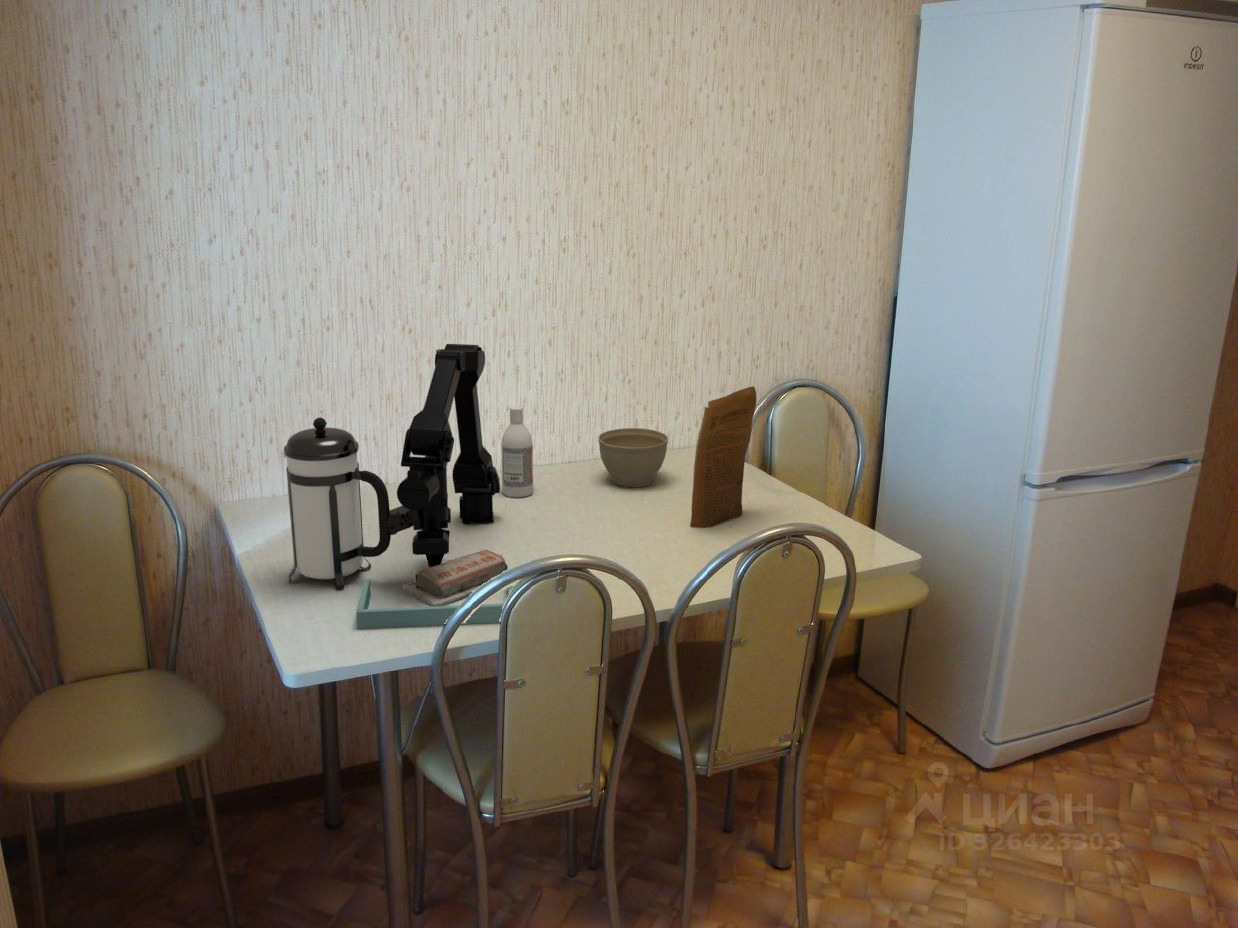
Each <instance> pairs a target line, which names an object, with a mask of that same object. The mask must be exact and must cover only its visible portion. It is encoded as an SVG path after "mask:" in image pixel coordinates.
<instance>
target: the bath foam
mask: <svg viewBox="0 0 1238 928" xmlns="http://www.w3.org/2000/svg"><path fill="white" fill-rule="evenodd" d="M500 444H501V445H500V447H501V489H502V490H501V491H502V494H503V495H504V496H506V497H508V498H519V499H520V498H525V497H529V496H530V495H532V494H533V492H534V456H533V455H534V453H533V451H534V450H533V449H534V448H533V447H534V446H533V445H534V444H533V438H532V435H531V433H530V431H529V429H528V427H526V425H525V423H524V407H523V406H520V405H513V406H511V407H509V424H508V426H507V428H505V431H504V432H503V434H502V437H501V443H500Z"/></svg>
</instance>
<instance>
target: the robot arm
mask: <svg viewBox="0 0 1238 928" xmlns="http://www.w3.org/2000/svg"><path fill="white" fill-rule="evenodd" d="M444 346H445V347H444V348H441V349H439V348H438V349H436V350H435V356H434V370H433V374H432V377H431V381H430V384H429V388H428V390H427V391H428V392H427V395H426V397H425V402H424V405H423V409H422V410H420V411H419V412H417V413H416V414H415V415H414V416H413V417H412V420H411V423H410V426H409V428H408V429H407V430H406V431H405V437H404V442H403V449H402V455H401V460H400V461H401V462H400V467H402V468H403V467H404V468H406V467H407V468H409V469H408V470H407V472H406V475H407V476H406V477H405V478H404V479H403V480H401V482H400V483H399V485H398V486H397V490H396V497H397V500H398V502H399V504H400V506H397V507H395V508H392V509H390V514H389V518H388V519H386V520H384V522H385V529H386V530H388V531H389V534H390V535H391V536H394V535H397V534H398V533H399V532H402V531H404V530H405V531H406V530H407V529H410V528H412V527H413V531H416V534H415V535H414V536H413V538H412V548H411V549H412V554H413V555H415V556H422V555H423V556H424V555H425V557H426V562H427V565H428V568H430V567H433V566H436V565H439V564H442V563H443V562H442V561H443V559H444V556H445V555H446V554H449V553H450V535H451V530H449V524H451V521H452V520H451V519H452V516H451V515H452V514H451V513H452V512H451V508H450V507H449V506H448V505H449V504H448V500H449V496H448V494H449V493H448V480H447V479H448V478H447V477H448V475H447V467H448V464H449V463H450V462H451V459H452V455H453V449H454V444H455V438H454V436H453V432H452V429H451V425H450V422H449V419H450V414H451V410H452V406H453V404H454V405H455V408H454V409H455V416H456V423H457V434H458V443H459V453H458V455H457V457H456V460H455V462H454V465H453V468H452V473H451V474H452V482H453V483H452V484H453V488H454V493H455V494H461V495H460V496H459V500H458V501H459V519H461V522H462V524H463V525H469V524H470V525H471V524H472V525H475V524H476V525H478V524H493V523H494V521H495V517H494V508H493V505H494V504H493V503H494V502H493V496H496V494H499V493H501V483H500V479H501V478H500V477H499V474H498V472H497V469H496V467H495V466H494V462H493V457H492V455H491V453H490V452H489V451H488V450H487V448H485V446H484V445H483V436H482V424H481V416H480V415H481V414H480V403H479V395H478V393H479V392H478V386H477V384H478V381H479V379H480V378H481V377H482V374H483V373H484V368H485V367H486V353H485V350H483V349H482V347H481V346H480V345H479V344H467V343H466V344H462V343H446V344H445V345H444ZM411 454H412V455H413V456H411Z"/></svg>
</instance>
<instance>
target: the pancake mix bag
mask: <svg viewBox="0 0 1238 928" xmlns="http://www.w3.org/2000/svg"><path fill="white" fill-rule="evenodd" d="M707 405H708V406H706V407H704V411H703V417H702V418H701V419H702V420H701V424H700V430H699V433H698V437H697V440H696V442H697V443H696V448H695V457H694V464H693V480H692V481H693V483H692V493H691V495H692V496H691V517H690V524H689V527H691V528H701V529H702V528H711V527H713V526H716V525H719V524H722V523H724V522H727V521H730V520H732V519H736V518H739V517H742V515H743V514H744V513H743V500H742V499H743V482H744V473H745V472H744V470H745V462H746V461H745V460H746V455H747V452H748V448H749V446H750V445H749V444H750V441H751V436H752V426H753V419H754V415H755V411H756V406H757V391H756V387H755V386H749V387H745V388H742V389H739V390H737V391H734V392H732V393H730V394H728V395H726V396H722V397H719V398H716V399H711V400H709V401H707Z"/></svg>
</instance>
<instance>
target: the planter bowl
mask: <svg viewBox="0 0 1238 928" xmlns="http://www.w3.org/2000/svg"><path fill="white" fill-rule="evenodd" d="M597 440H598V444H599V445H598V446H599V454H600V458H601V461H602V464H603V465H604V467H605V469H606V471H607V472H608V474H609V475H610V476H611V480H612V482H613V483H614V484H615V485H618V486H621V487H626V488H640V487H641V488H642V487H646V486H649V485H651V484H652V483H653V482H654V479H655V476H656V475H657V473H659V471H660V470H661V467H662V466H663V463H664V461H665V458H666V454H667V448H668V447H667V446H668V443H669V437H668V435H667V434H665V433H664V432H661V431H658V430H654V429H649V428H643V427H642V428H638V427H626V428H624V427H623V428H615V429H610V430H607V431H604V432H602V433H600V434H599V435H598V436H597Z"/></svg>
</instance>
